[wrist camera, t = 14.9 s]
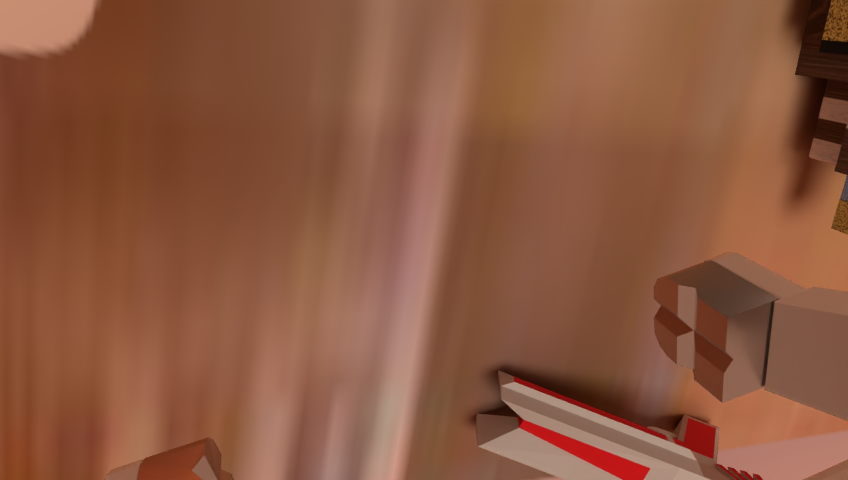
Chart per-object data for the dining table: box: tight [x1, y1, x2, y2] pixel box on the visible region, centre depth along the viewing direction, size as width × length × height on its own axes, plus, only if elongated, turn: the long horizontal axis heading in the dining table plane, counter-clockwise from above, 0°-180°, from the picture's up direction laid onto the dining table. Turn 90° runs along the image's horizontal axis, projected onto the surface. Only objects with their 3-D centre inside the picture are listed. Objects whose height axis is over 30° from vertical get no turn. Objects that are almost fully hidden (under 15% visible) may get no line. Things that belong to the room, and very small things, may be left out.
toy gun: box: [476, 371, 762, 480], centre depth 55 cm, size 7×28×15 cm, turn 68°
